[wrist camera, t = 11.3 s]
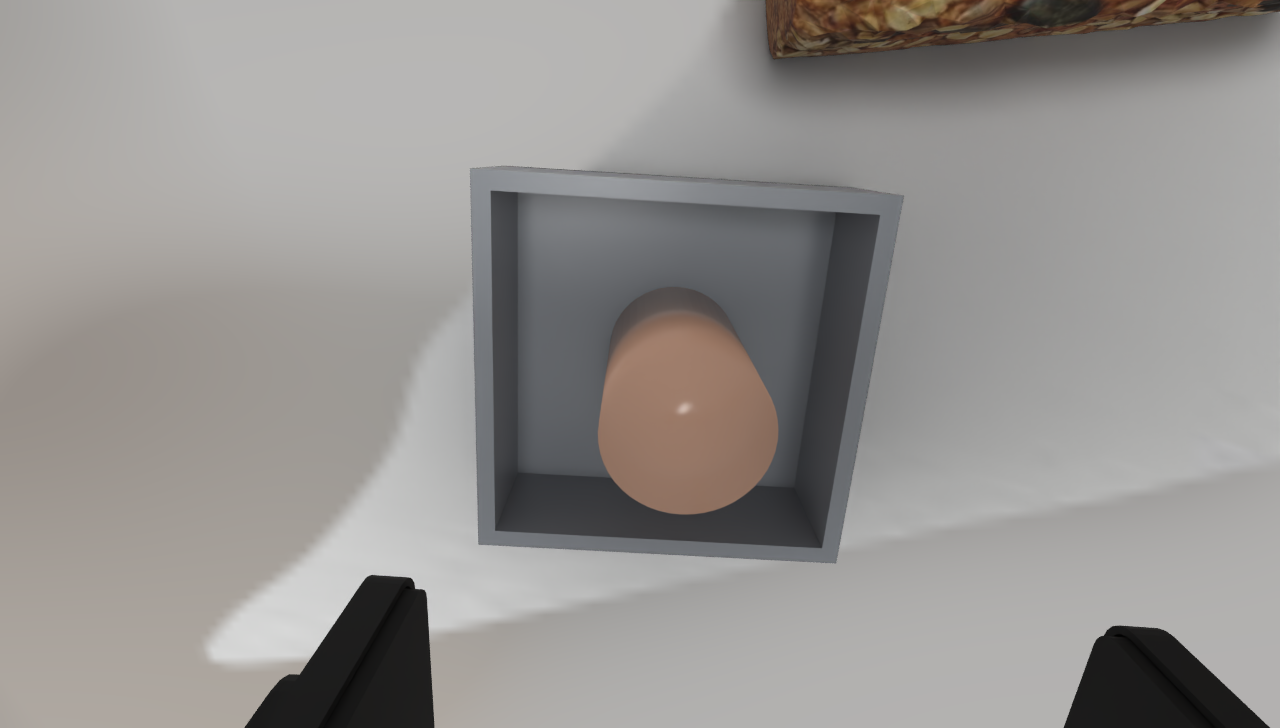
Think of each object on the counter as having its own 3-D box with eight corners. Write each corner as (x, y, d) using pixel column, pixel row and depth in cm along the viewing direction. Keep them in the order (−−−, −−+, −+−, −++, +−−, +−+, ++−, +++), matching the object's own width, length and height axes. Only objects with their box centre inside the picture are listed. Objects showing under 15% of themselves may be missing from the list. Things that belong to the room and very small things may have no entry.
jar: (742, 290, 24) (789, 354, 17) (729, 410, 26) (767, 518, 18) (612, 283, 24) (600, 345, 17) (607, 404, 26) (595, 510, 18)
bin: (851, 187, 24) (903, 195, 19) (802, 493, 28) (835, 563, 23) (504, 165, 24) (469, 168, 19) (506, 477, 28) (478, 544, 23)
